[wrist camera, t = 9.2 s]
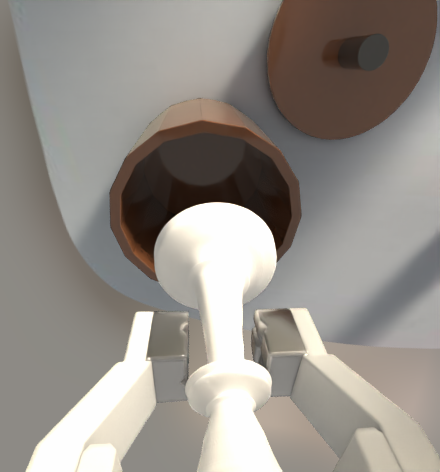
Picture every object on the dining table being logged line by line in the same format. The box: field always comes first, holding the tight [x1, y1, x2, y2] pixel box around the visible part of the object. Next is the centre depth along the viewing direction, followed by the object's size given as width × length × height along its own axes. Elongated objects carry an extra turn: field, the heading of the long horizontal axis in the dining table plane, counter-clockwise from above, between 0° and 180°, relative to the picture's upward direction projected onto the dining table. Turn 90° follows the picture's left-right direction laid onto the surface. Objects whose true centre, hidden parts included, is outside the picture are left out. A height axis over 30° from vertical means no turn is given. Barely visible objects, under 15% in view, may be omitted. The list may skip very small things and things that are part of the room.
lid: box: [267, 0, 437, 140], centre depth 26 cm, size 16×16×5 cm
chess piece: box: [154, 203, 283, 472], centre depth 8 cm, size 5×5×10 cm
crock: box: [110, 98, 302, 282], centre depth 28 cm, size 15×15×13 cm
